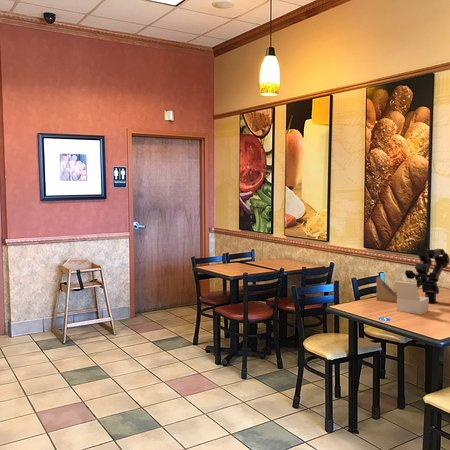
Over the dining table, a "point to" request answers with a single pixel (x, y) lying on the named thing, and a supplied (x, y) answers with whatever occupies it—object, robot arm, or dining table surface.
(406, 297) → the carton flap
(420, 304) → the carton
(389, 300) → the sandwich container
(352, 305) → the dining table surface
